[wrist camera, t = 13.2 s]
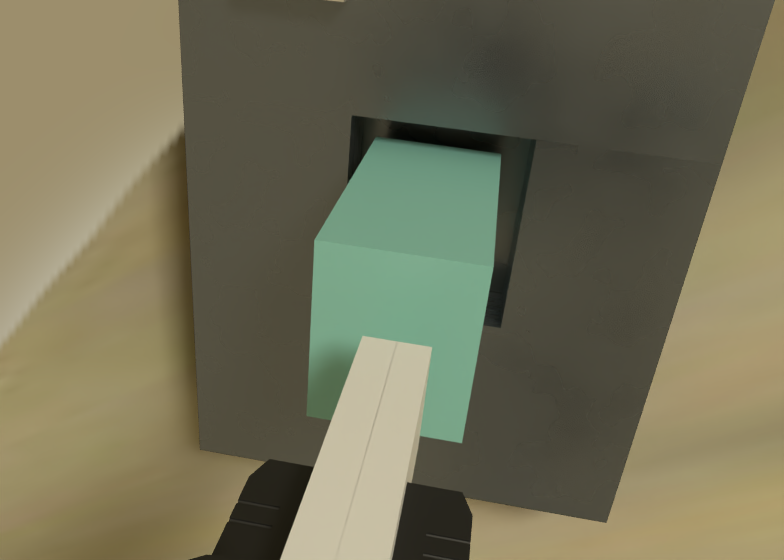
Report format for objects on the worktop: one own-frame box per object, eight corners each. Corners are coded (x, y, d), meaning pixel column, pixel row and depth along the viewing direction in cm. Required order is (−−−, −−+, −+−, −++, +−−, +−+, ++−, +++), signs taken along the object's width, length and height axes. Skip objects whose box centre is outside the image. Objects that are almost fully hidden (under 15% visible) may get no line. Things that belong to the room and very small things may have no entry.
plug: (479, 275, 26) (461, 443, 18) (370, 259, 27) (306, 416, 19) (502, 142, 24) (493, 267, 16) (382, 126, 24) (314, 239, 16)
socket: (597, 460, 30) (608, 539, 27) (230, 396, 32) (192, 463, 28) (777, -144, 20) (836, -154, 16) (218, -197, 21) (154, -217, 18)
